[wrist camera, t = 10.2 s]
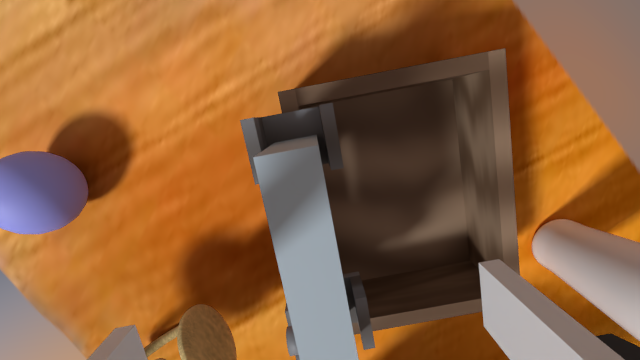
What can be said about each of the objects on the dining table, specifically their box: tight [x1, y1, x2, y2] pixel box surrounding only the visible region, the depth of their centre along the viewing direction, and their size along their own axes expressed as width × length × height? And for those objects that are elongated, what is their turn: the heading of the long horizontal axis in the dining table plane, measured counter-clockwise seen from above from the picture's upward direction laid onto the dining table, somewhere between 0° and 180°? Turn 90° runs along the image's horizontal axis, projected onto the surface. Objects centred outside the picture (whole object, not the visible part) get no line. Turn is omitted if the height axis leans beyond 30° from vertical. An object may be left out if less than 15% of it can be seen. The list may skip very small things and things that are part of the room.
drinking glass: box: [532, 219, 640, 341], centre depth 25 cm, size 7×7×15 cm
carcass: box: [240, 48, 520, 360], centre depth 26 cm, size 20×18×11 cm
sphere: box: [0, 151, 88, 234], centre depth 27 cm, size 7×7×7 cm
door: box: [253, 135, 359, 360], centre depth 20 cm, size 14×4×8 cm, turn 11°
